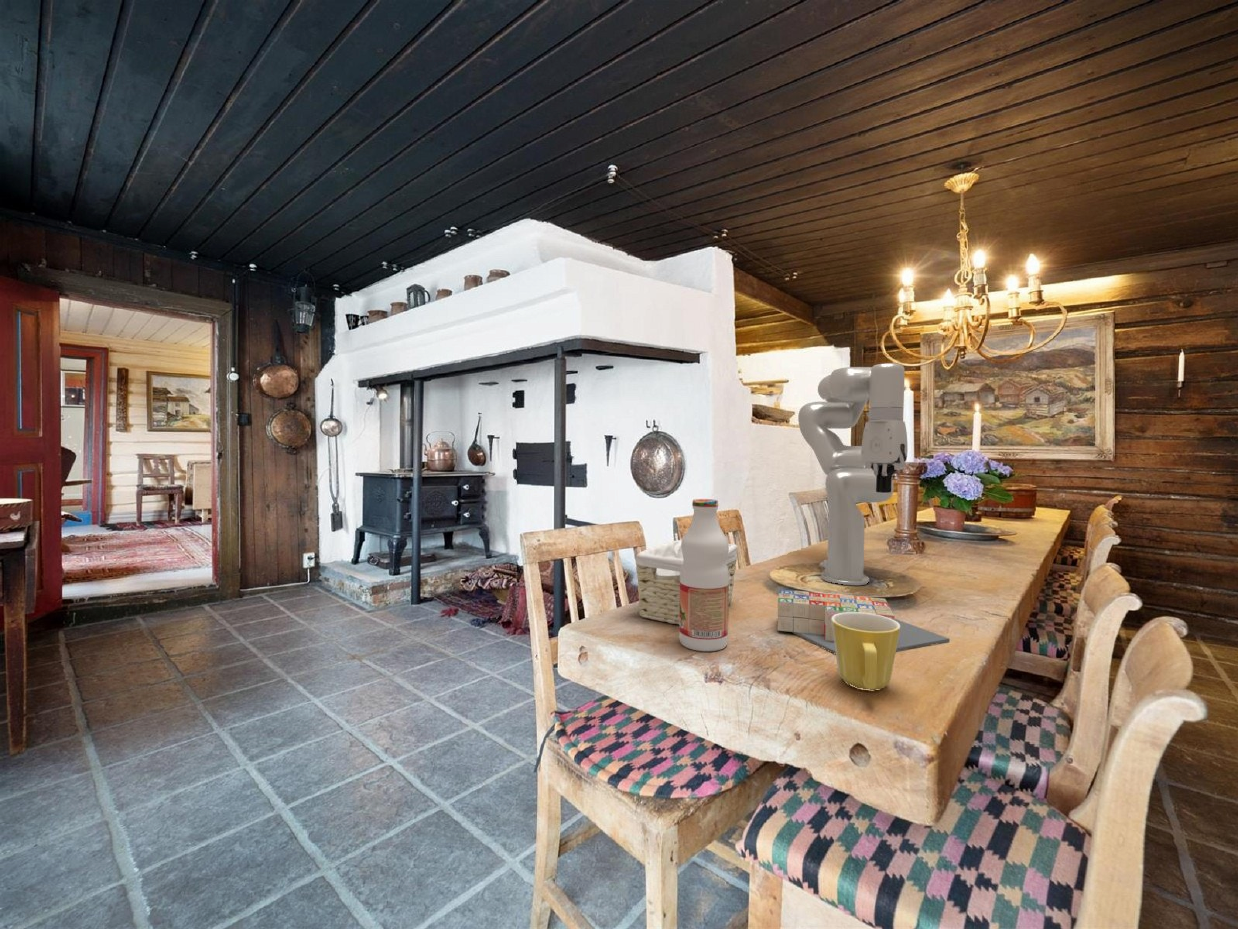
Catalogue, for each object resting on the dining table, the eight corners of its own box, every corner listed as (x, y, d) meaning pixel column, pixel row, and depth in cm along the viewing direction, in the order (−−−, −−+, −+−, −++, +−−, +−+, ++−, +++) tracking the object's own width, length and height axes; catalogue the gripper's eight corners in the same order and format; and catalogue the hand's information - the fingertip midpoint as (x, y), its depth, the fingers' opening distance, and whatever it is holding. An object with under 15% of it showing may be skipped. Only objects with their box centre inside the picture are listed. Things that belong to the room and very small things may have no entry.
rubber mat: (792, 633, 114) (792, 630, 114) (887, 618, 124) (887, 615, 124) (846, 660, 100) (847, 657, 100) (949, 641, 110) (949, 638, 110)
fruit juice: (708, 656, 101) (710, 504, 100) (669, 642, 108) (670, 499, 107) (737, 643, 108) (740, 500, 107) (699, 631, 115) (700, 496, 113)
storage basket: (678, 593, 143) (679, 536, 142) (739, 603, 134) (740, 543, 134) (632, 619, 123) (632, 553, 122) (700, 633, 114) (701, 562, 113)
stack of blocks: (778, 616, 123) (776, 635, 111) (779, 588, 122) (776, 604, 111) (885, 627, 116) (894, 648, 104) (886, 598, 116) (895, 616, 104)
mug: (834, 666, 98) (836, 607, 97) (899, 679, 93) (901, 617, 92) (821, 698, 86) (822, 631, 85) (895, 714, 81) (897, 643, 80)
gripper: (850, 416, 139) (848, 490, 140) (900, 414, 125) (897, 495, 126) (872, 417, 142) (870, 489, 142) (924, 415, 128) (921, 494, 129)
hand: (883, 492), depth 134 cm, fingers closed
